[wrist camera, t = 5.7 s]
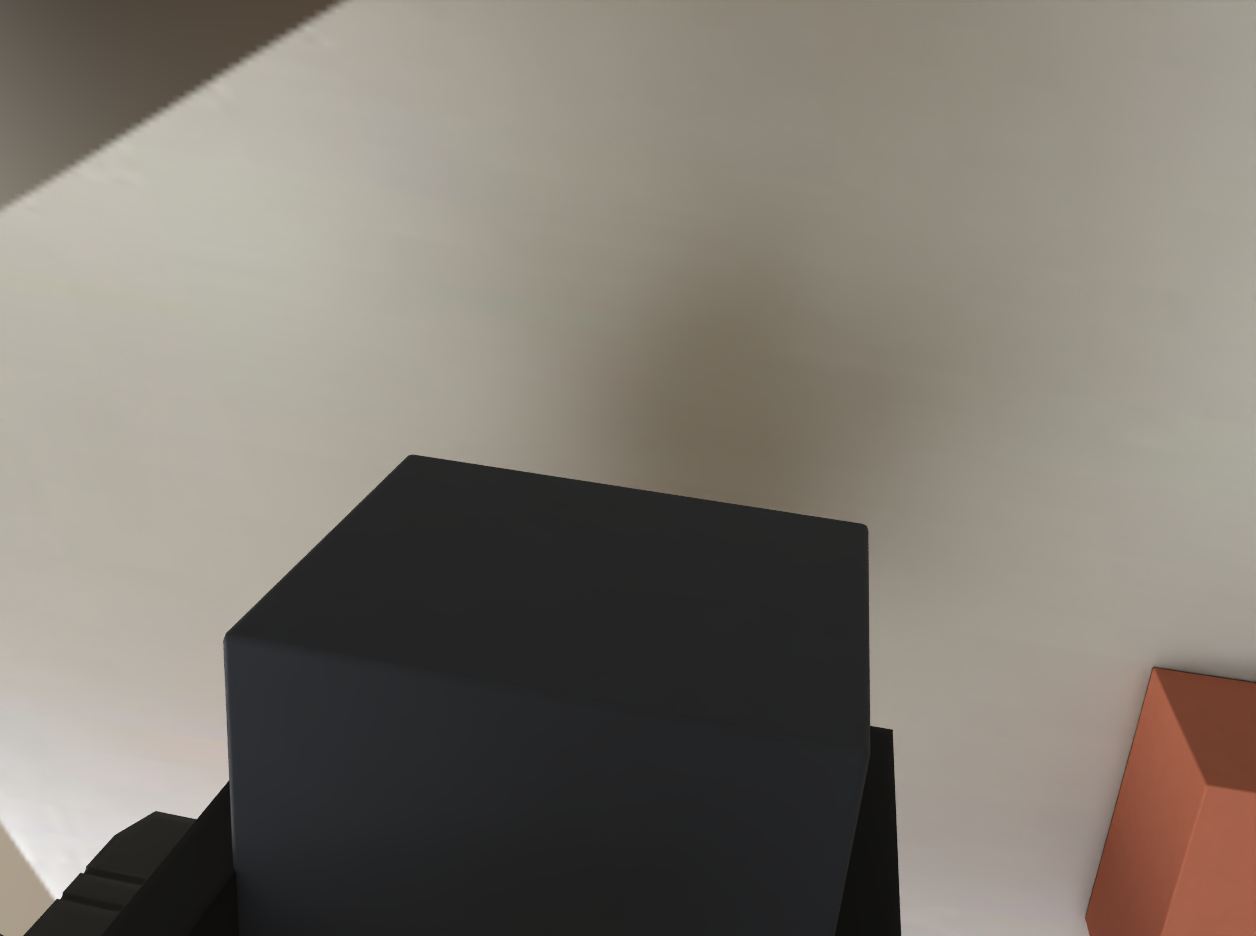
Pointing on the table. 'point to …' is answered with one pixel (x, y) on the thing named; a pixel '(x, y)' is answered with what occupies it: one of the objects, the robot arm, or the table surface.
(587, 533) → the dark gray rectangular block
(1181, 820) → the reddish brown rectangular block
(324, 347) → the table surface
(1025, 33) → the table surface
